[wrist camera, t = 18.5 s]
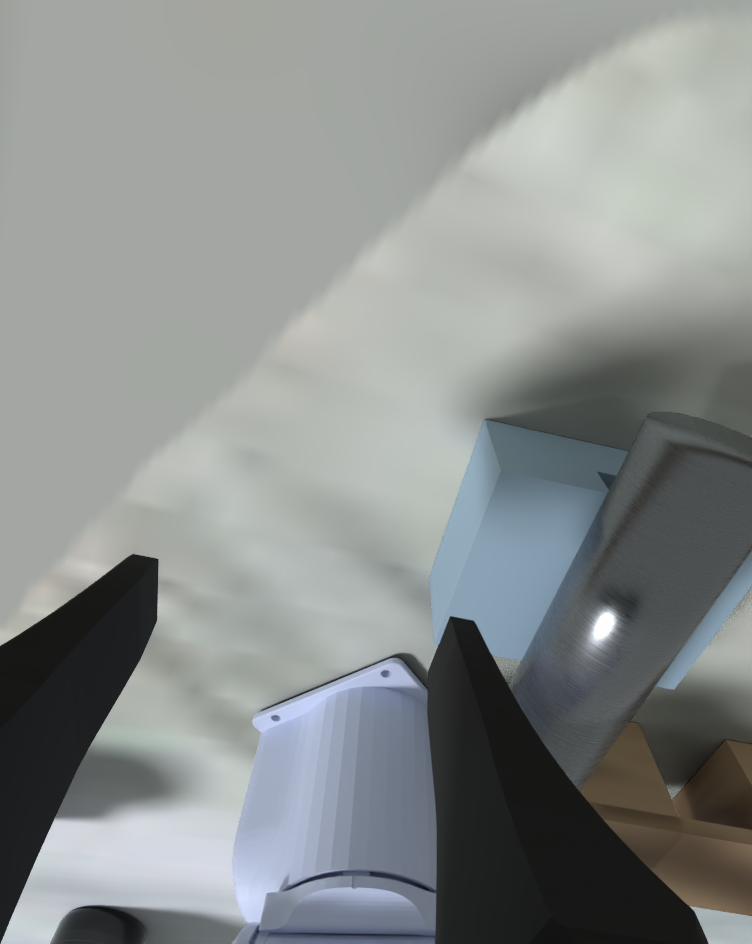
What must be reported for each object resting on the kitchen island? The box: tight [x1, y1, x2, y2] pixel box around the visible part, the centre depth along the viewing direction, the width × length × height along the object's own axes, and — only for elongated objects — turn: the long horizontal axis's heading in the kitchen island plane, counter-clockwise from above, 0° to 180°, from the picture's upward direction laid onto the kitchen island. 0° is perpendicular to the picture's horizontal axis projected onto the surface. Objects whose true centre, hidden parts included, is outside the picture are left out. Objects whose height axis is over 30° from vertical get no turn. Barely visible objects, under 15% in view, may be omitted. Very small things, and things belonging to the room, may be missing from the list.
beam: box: [580, 722, 752, 916], centre depth 28 cm, size 6×14×6 cm, turn 78°
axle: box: [509, 412, 752, 791], centre depth 18 cm, size 14×4×4 cm, turn 168°
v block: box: [429, 419, 752, 690], centre depth 21 cm, size 8×10×4 cm
